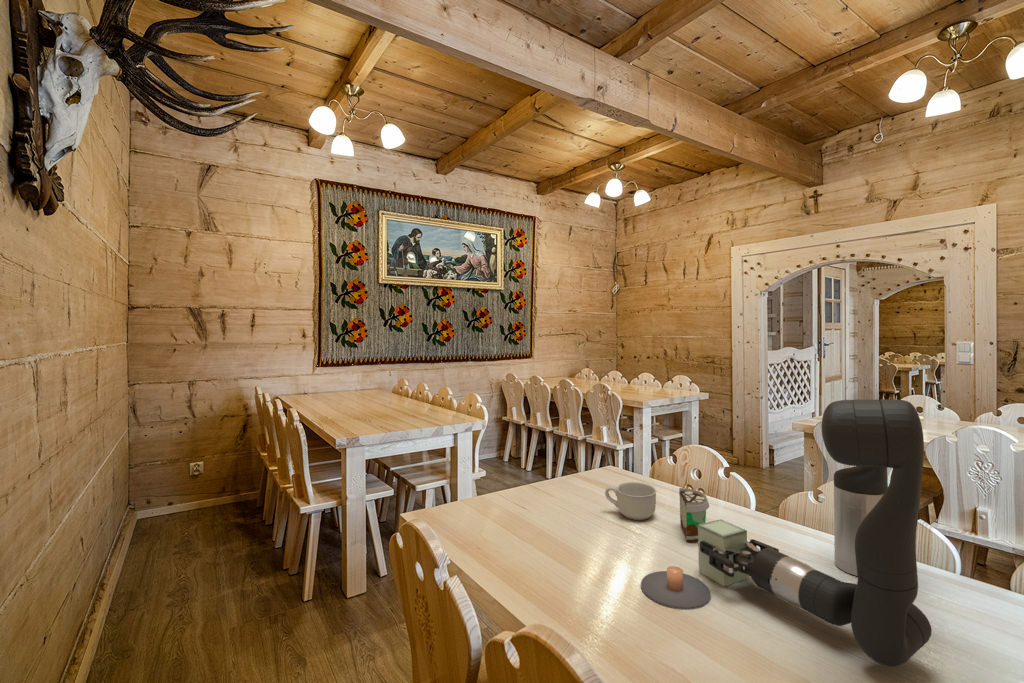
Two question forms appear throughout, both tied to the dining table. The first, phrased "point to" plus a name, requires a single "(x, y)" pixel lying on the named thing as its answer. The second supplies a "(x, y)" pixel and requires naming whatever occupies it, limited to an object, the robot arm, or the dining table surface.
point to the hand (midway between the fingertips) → (713, 542)
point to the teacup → (634, 499)
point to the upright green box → (722, 538)
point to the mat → (688, 598)
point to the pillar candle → (674, 578)
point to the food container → (692, 512)
